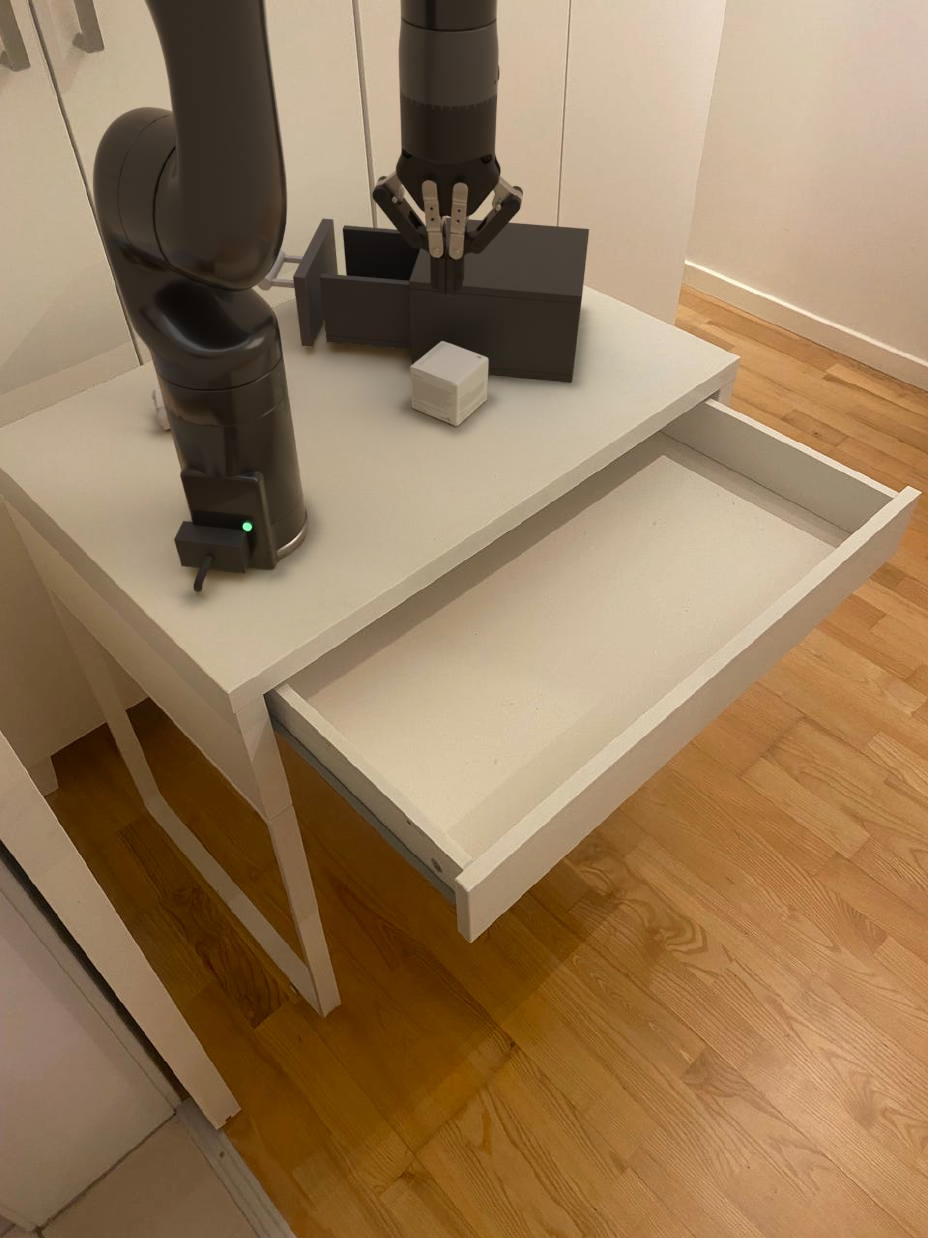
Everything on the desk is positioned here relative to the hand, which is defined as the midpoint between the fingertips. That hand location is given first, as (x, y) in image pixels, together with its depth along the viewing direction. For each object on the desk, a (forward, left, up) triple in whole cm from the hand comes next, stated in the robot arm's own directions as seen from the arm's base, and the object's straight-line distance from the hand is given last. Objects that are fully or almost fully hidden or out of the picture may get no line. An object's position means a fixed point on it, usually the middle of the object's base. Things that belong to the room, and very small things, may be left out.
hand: (447, 291), depth 86 cm
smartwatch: (-8, +26, -12) cm, 30 cm away
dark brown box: (+12, -4, -12) cm, 18 cm away
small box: (0, 0, -12) cm, 12 cm away
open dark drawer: (+12, +11, -11) cm, 20 cm away
